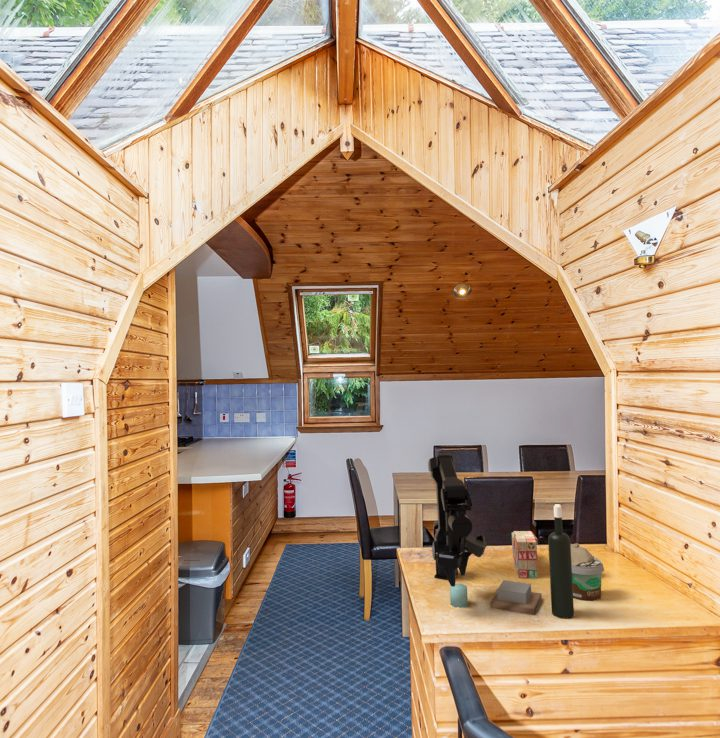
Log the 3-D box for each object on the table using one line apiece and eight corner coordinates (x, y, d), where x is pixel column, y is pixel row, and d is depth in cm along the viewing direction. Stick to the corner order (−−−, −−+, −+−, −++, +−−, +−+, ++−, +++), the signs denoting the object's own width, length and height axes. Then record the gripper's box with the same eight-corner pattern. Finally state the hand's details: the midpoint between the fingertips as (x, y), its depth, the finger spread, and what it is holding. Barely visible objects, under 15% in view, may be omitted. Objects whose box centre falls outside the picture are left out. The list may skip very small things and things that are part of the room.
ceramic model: (607, 576, 172) (605, 545, 172) (583, 583, 167) (581, 551, 167) (572, 564, 184) (570, 535, 185) (549, 570, 179) (547, 541, 180)
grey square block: (497, 599, 152) (497, 589, 152) (504, 589, 159) (503, 579, 159) (526, 604, 148) (525, 593, 148) (531, 594, 155) (530, 583, 156)
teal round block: (448, 606, 153) (447, 588, 154) (453, 599, 158) (453, 582, 158) (464, 609, 151) (464, 591, 151) (470, 602, 155) (469, 585, 156)
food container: (586, 606, 150) (584, 570, 150) (568, 598, 155) (566, 564, 156) (614, 596, 156) (612, 562, 156) (596, 590, 161) (595, 556, 162)
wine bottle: (562, 620, 142) (557, 507, 143) (547, 612, 147) (542, 503, 148) (578, 615, 144) (573, 505, 145) (562, 608, 149) (557, 501, 150)
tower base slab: (490, 610, 151) (490, 601, 151) (501, 595, 161) (500, 587, 162) (534, 618, 145) (533, 608, 145) (541, 601, 156) (541, 593, 156)
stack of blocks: (512, 557, 194) (510, 523, 195) (530, 558, 193) (528, 524, 193) (518, 578, 173) (516, 540, 174) (538, 579, 172) (536, 541, 172)
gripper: (473, 538, 143) (475, 596, 143) (491, 522, 160) (493, 574, 159) (434, 534, 149) (436, 590, 148) (456, 518, 165) (458, 569, 164)
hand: (458, 580), depth 155 cm, fingers open, 9 cm apart
